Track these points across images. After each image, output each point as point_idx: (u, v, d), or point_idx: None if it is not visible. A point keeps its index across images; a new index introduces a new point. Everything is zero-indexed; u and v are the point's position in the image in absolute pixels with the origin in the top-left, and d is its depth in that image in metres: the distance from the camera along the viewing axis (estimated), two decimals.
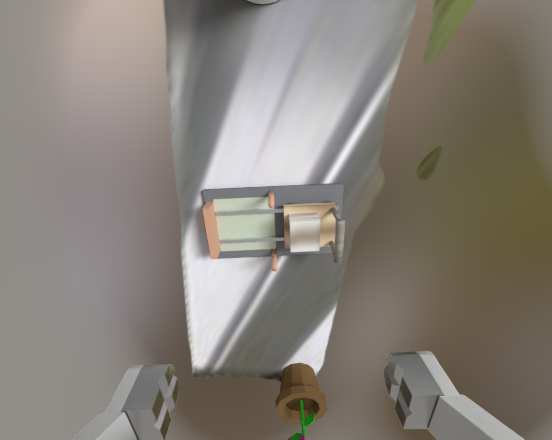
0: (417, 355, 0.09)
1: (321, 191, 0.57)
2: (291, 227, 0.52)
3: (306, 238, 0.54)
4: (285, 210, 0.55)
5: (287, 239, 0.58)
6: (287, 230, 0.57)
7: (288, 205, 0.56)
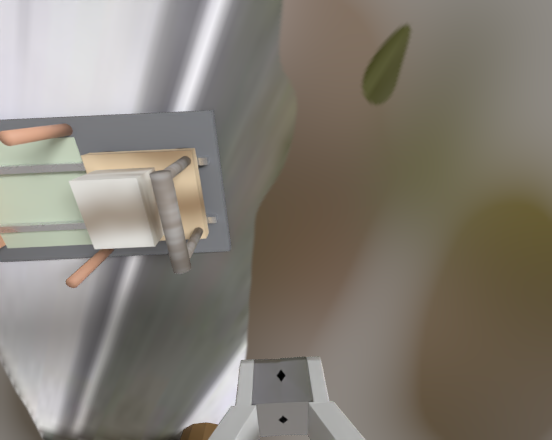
0: (305, 360, 0.09)
1: (168, 127, 0.28)
2: (76, 194, 0.24)
3: (118, 220, 0.25)
4: (86, 162, 0.27)
5: None
6: None
7: (98, 153, 0.27)
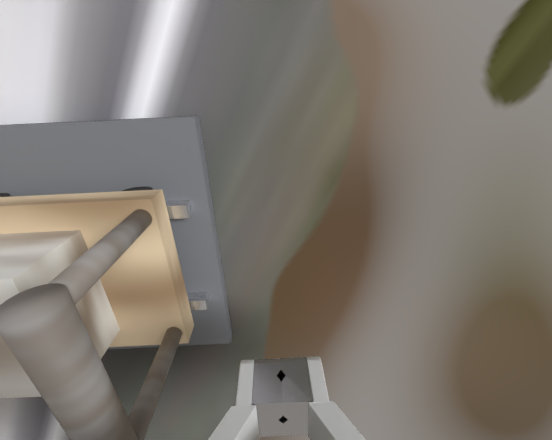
0: (305, 360, 0.09)
1: (112, 148, 0.15)
2: None
3: None
4: None
5: None
6: None
7: None
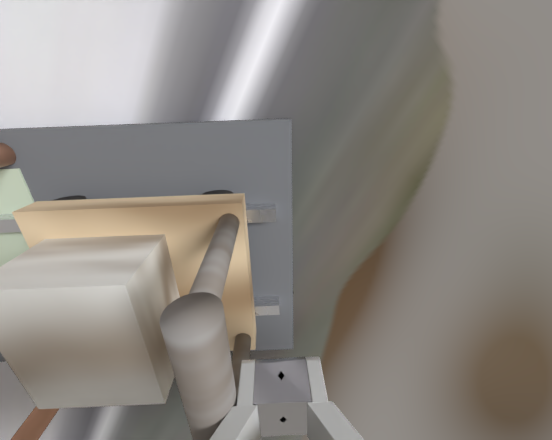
0: (304, 360, 0.09)
1: (204, 151, 0.14)
2: None
3: (86, 363, 0.11)
4: (26, 225, 0.13)
5: None
6: None
7: (52, 203, 0.14)
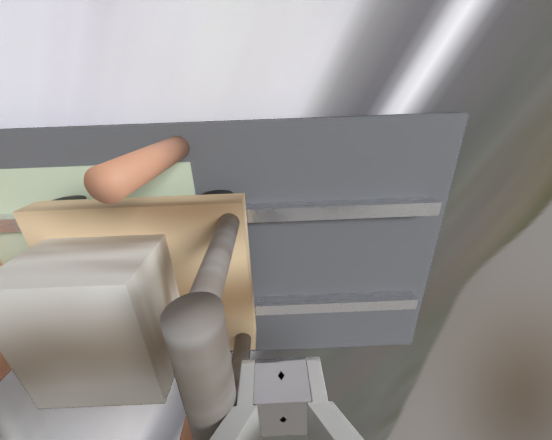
0: (304, 360, 0.09)
1: (375, 144, 0.14)
2: None
3: (86, 363, 0.11)
4: (26, 225, 0.13)
5: None
6: None
7: (52, 202, 0.14)
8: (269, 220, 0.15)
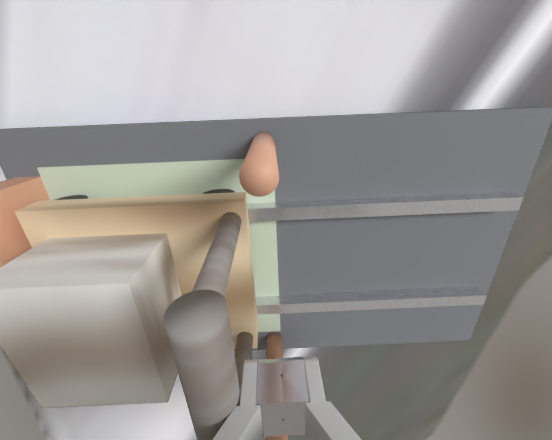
0: (302, 360, 0.09)
1: (459, 139, 0.14)
2: None
3: (89, 362, 0.11)
4: (28, 224, 0.13)
5: None
6: None
7: (55, 202, 0.14)
8: (350, 215, 0.15)
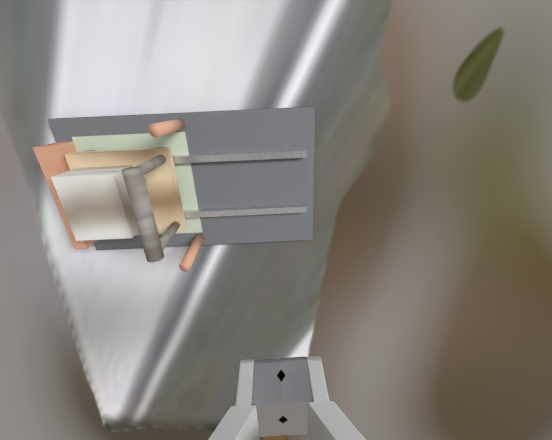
0: (305, 360, 0.09)
1: (273, 122, 0.30)
2: (58, 189, 0.26)
3: (97, 213, 0.27)
4: (69, 160, 0.29)
5: None
6: None
7: (81, 152, 0.29)
8: (224, 160, 0.31)
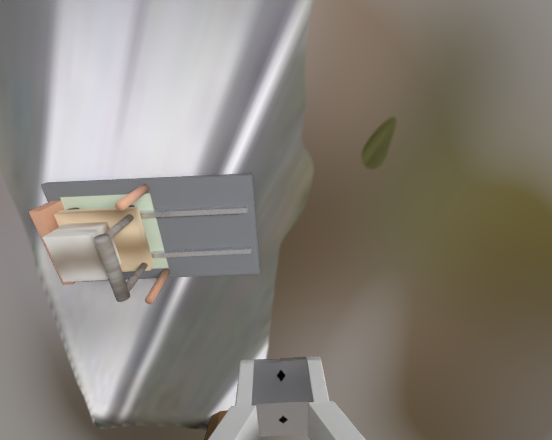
0: (305, 360, 0.09)
1: (219, 186, 0.38)
2: (48, 245, 0.34)
3: (79, 262, 0.35)
4: (58, 218, 0.37)
5: None
6: None
7: (67, 210, 0.37)
8: (181, 215, 0.39)
